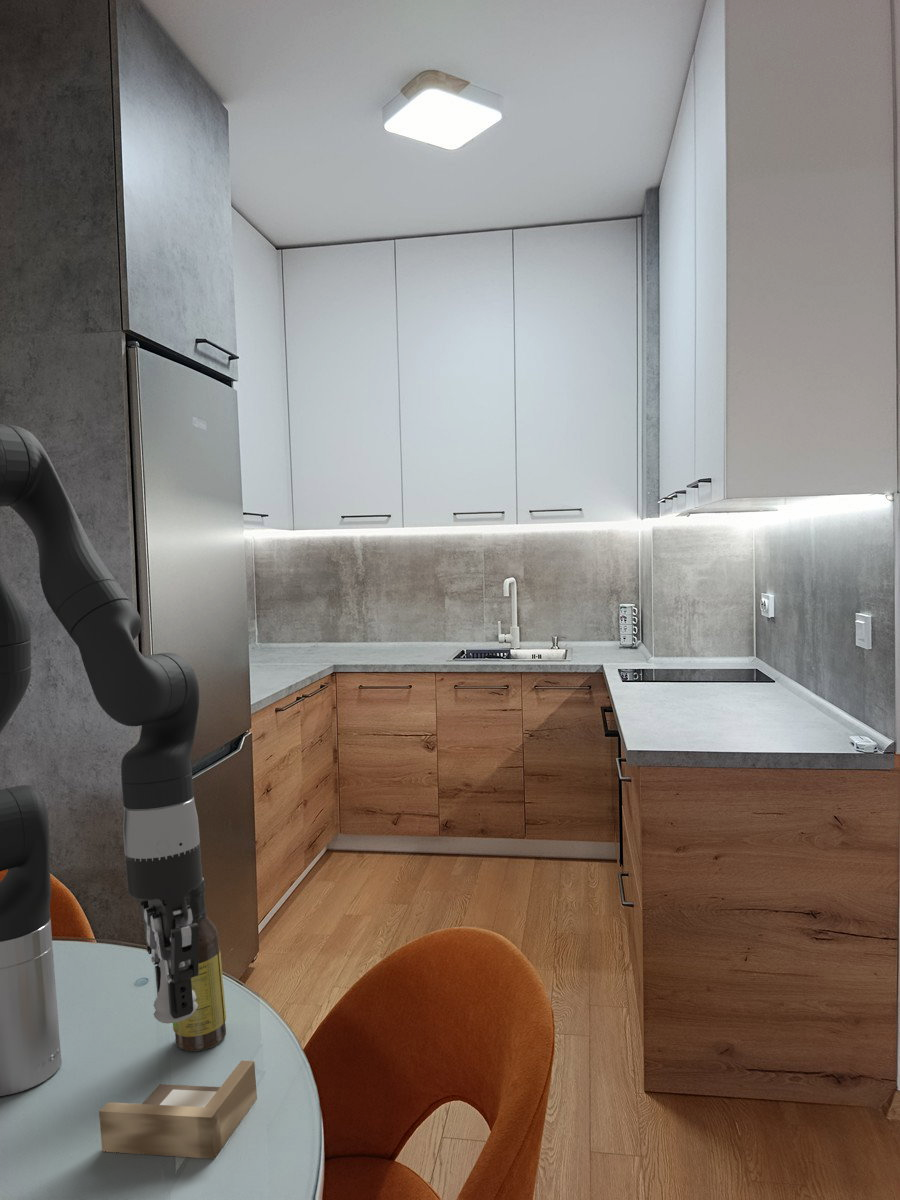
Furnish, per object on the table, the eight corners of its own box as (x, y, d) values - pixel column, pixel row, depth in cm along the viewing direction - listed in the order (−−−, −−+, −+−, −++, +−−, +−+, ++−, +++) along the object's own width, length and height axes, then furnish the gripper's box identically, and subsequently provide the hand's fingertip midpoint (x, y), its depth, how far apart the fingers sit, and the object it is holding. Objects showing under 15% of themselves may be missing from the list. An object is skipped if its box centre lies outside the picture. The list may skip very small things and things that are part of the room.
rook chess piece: (197, 1019, 89) (191, 942, 89) (152, 1028, 87) (146, 950, 87) (198, 1000, 93) (193, 927, 93) (155, 1009, 92) (149, 934, 92)
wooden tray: (102, 1151, 85) (99, 1111, 84) (159, 1087, 95) (157, 1051, 95) (214, 1158, 82) (211, 1117, 82) (260, 1092, 93) (258, 1055, 93)
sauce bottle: (188, 1027, 109) (177, 870, 108) (235, 1027, 108) (223, 869, 107) (164, 1054, 102) (151, 888, 102) (213, 1055, 101) (201, 887, 101)
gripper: (219, 850, 86) (232, 1019, 86) (179, 824, 98) (190, 973, 98) (142, 868, 82) (156, 1046, 82) (110, 839, 94) (122, 994, 94)
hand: (175, 1005), depth 90 cm, fingers closed on rook chess piece, 4 cm apart
